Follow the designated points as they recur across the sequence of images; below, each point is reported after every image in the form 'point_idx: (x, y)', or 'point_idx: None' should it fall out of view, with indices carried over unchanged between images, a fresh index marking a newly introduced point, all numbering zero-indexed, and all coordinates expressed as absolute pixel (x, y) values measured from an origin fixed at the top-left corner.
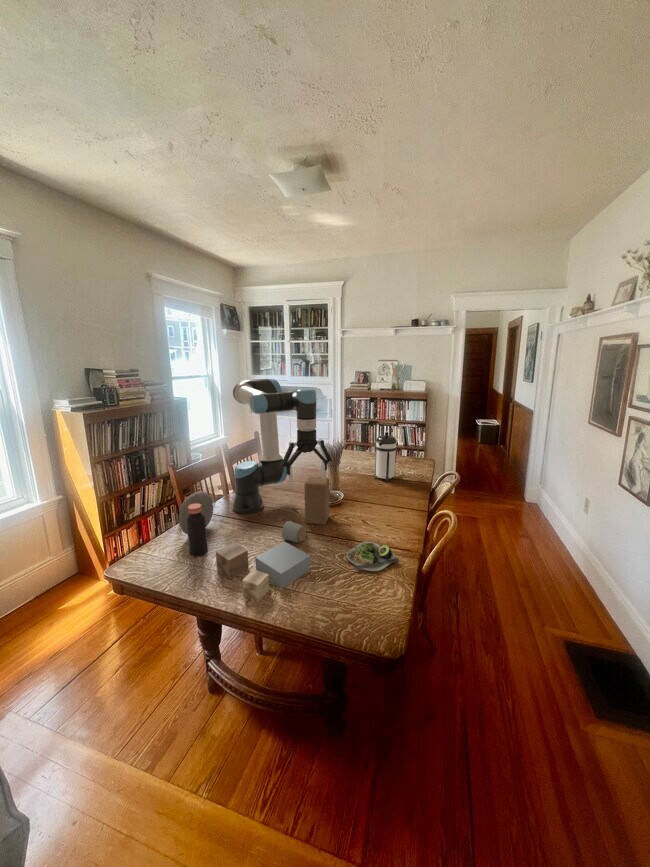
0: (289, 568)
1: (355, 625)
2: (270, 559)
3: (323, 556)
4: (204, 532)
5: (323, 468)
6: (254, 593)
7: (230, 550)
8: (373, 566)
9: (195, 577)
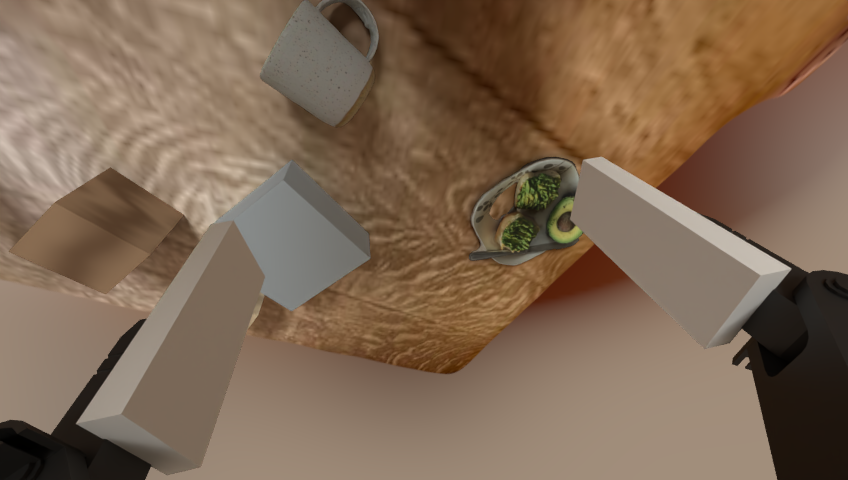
0: (311, 297)
1: (419, 348)
2: None
3: (414, 189)
4: None
5: (655, 295)
6: None
7: (74, 249)
8: (512, 255)
9: (7, 229)
